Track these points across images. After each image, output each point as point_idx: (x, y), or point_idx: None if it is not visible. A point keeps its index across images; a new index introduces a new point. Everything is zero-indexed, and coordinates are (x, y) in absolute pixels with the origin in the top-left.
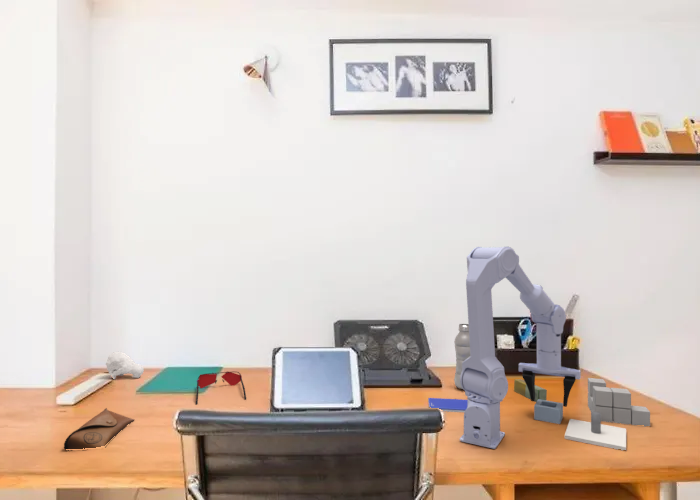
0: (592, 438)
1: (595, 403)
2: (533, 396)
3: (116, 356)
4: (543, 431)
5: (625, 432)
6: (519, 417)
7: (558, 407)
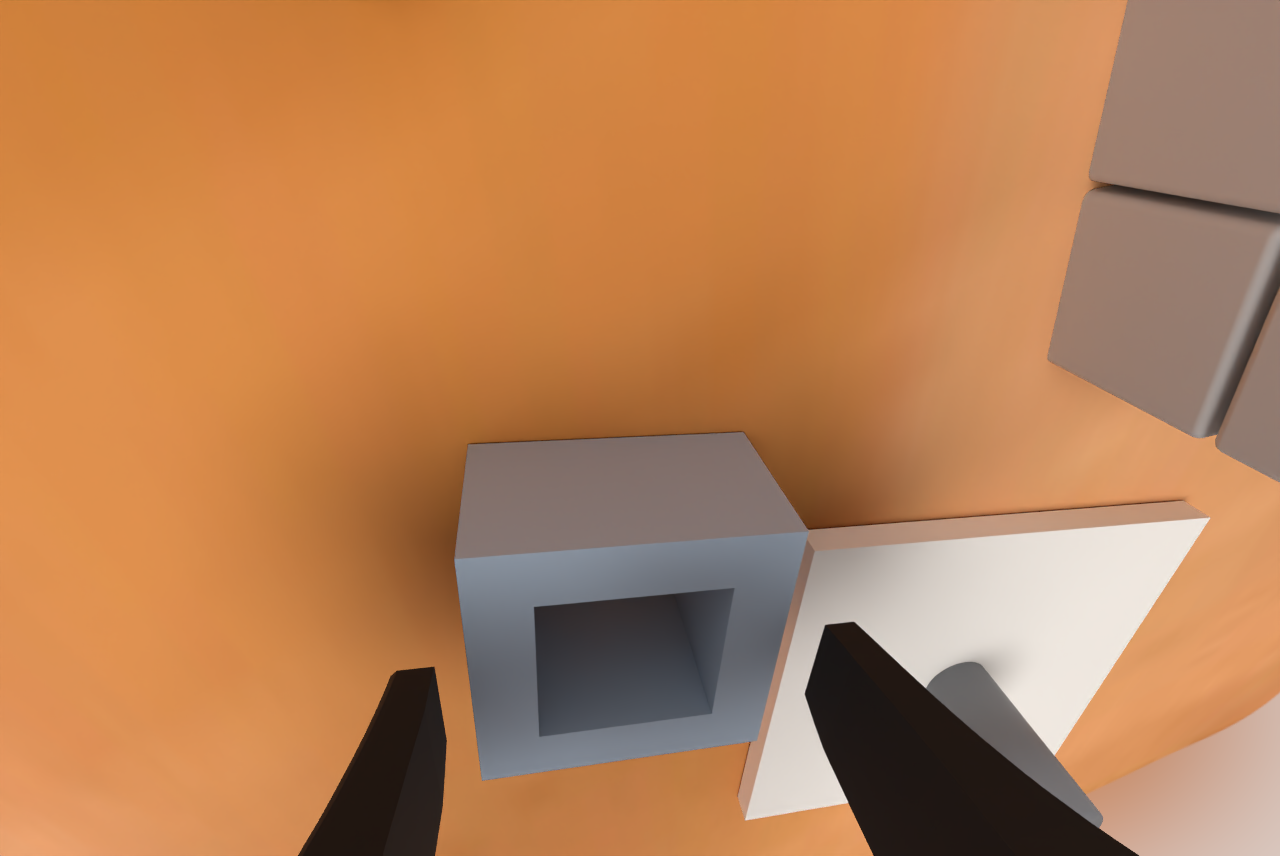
0: None
1: (1237, 456)
2: (437, 819)
3: None
4: (605, 782)
5: (1159, 590)
6: (345, 672)
7: (745, 692)
